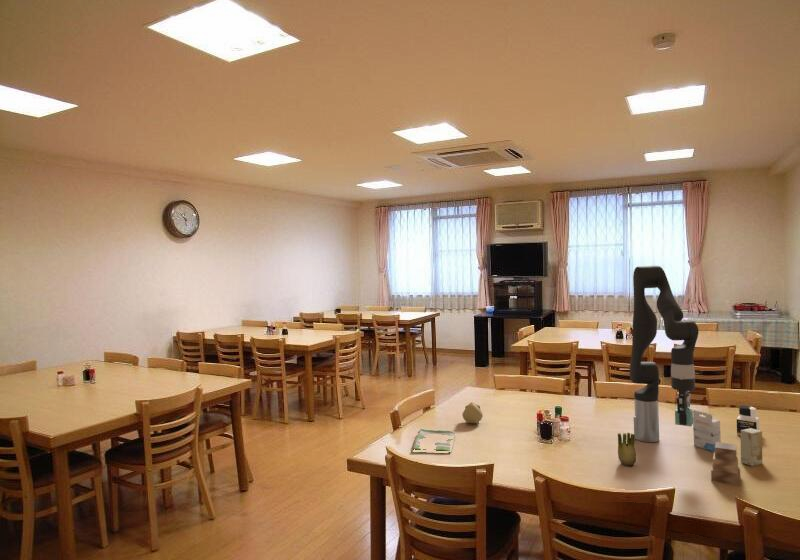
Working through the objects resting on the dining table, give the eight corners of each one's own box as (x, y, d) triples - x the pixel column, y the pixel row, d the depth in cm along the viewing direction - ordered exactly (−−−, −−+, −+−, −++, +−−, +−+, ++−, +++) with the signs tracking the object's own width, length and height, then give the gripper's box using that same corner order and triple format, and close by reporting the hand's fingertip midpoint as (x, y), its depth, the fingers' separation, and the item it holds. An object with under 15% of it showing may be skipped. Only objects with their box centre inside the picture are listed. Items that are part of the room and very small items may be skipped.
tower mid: (712, 470, 172) (712, 458, 172) (714, 463, 178) (714, 452, 178) (737, 474, 168) (737, 462, 168) (738, 467, 174) (737, 455, 174)
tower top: (715, 458, 172) (714, 447, 172) (716, 453, 177) (715, 442, 177) (736, 462, 169) (735, 450, 169) (736, 456, 174) (736, 444, 173)
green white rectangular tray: (455, 436, 229) (455, 428, 229) (452, 455, 207) (452, 446, 206) (418, 435, 232) (418, 428, 232) (411, 454, 209) (410, 445, 209)
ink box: (721, 449, 200) (720, 413, 200) (713, 452, 198) (712, 415, 198) (701, 443, 208) (700, 408, 208) (693, 445, 206) (692, 409, 206)
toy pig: (483, 420, 251) (482, 398, 251) (482, 427, 239) (481, 405, 239) (463, 419, 253) (463, 398, 253) (461, 427, 241) (461, 405, 241)
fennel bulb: (617, 464, 190) (616, 432, 189) (622, 460, 193) (621, 429, 193) (633, 468, 185) (632, 436, 185) (638, 464, 189) (637, 432, 189)
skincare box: (752, 466, 183) (751, 433, 183) (740, 462, 187) (739, 430, 187) (763, 463, 185) (762, 430, 185) (751, 459, 189) (750, 427, 189)
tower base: (711, 481, 172) (711, 470, 172) (713, 473, 179) (713, 462, 179) (739, 487, 168) (739, 475, 168) (740, 478, 174) (740, 467, 174)
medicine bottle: (736, 434, 216) (736, 407, 216) (739, 430, 221) (739, 403, 221) (756, 438, 211) (756, 410, 211) (759, 433, 216) (758, 406, 216)
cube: (675, 424, 181) (674, 410, 181) (677, 420, 185) (677, 407, 185) (691, 426, 178) (690, 412, 178) (693, 422, 182) (692, 409, 182)
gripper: (674, 371, 189) (675, 416, 189) (667, 378, 178) (669, 426, 178) (697, 373, 185) (698, 419, 185) (692, 380, 173) (693, 429, 174)
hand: (684, 422), depth 181 cm, fingers closed on cube, 5 cm apart
